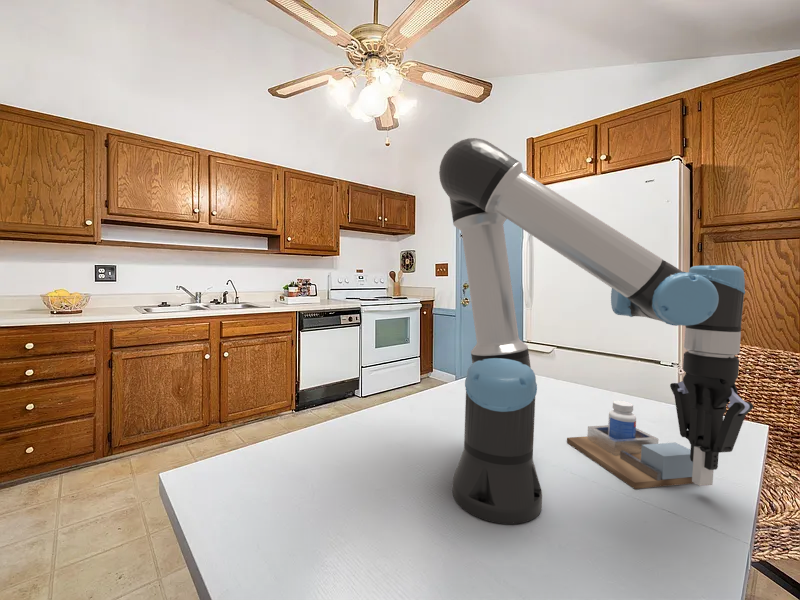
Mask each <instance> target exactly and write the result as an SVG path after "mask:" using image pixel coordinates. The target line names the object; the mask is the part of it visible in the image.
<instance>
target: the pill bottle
mask: <svg viewBox="0 0 800 600" xmlns="http://www.w3.org/2000/svg"><path fill="white" fill-rule="evenodd" d="M633 411H634V404H633V403H631V402H628V401H623V400H613V401H612V409H611V410H610V411H609V413H608V424H607V425H608V436H610V437H612V438H614V439H616V440H617V439H632V438H635V434H636V428H637V416H636V415H635V414H634V413H633Z"/></svg>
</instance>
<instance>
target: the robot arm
mask: <svg viewBox="0 0 800 600" xmlns="http://www.w3.org/2000/svg"><path fill="white" fill-rule="evenodd" d="M440 161H441V162H440V165H439V172H438V174H439V181H440V184H441V185H440V186H441V187H442V189H443V190H444V192H445V194H446V195H447V196H448V198H449V202H450V209H451V211H450V212H451V217H452V225H453V227H455V228H457V229H458V230H459V231H460V232H461V236H462V237H461V238H462V245H463V251H464V257H465V267H466V272H467V279H468V287H469V295H470V302H471V310H472V315H473V316H472V317H473V324H474V330H475V339H476V340H475V341H476V344H475V346H474V347H472V350H470V355H471V361H472V362H471V363H472V364H471V365H469V366H468V368H467V371H466V377H465V381H464V388H465V407H464V408H465V411H464V412H465V414H464V434H463V436H464V437H463V438H464V439H463V440H464V441H463V443H464V444H463V452H462V454H461V456H460V459H459V462H458V465H457V467H456V470H455V472H454V475H453V480H452V495H453V498H454V500H455V502H456V503H457V504H458V506H459V507H461V508H462V509H463V510H464V511H466V512H467V513H469V514H471V515H472V516H474V517H477V518H479V519H482V520H484V521H487V522H492V523H496V524H505V525H513V524H515V525H516V524H523V523H526V522H529V521H532V520H534V519H535V518H537V517H538V515H540V514H541V511H542V509H543V492H542V491H543V490H542V487H541V484H540V480H539V475H538V474H537V470H536V466H535V462H534V439H535V438H534V436H535V435H534V433H535V417H536V416H535V414H536V413H535V412H536V395H537V393H538V386H537V385H538V384H537V382H536V381H537V380H536V379H537V378H536V374H535V372H534V370H533V369H532V367H531V359H530V353H529V347H528V345H527V344H526V343H524V342H523V341H522V340H521V339H520V337H519V330H518V324H517V323H518V322H517V314H516V307H515V301H514V294H513V286H512V279H511V271H510V265H509V263H510V262H509V256H508V249H507V241H506V236H505V235H506V234H505V229H504V224H505V221H507V220H508V221H509V222H510V223H513V224H514V225H516V227H517V226H518V227H519V228H521V229H522V230H523V231H525V232H526V233H528V234H529V235H531V236H533V237H534V238H536V240H538V241H540V242H542V243H543V244H544V245H546V246H548V247H549V248H551V249H552V250H554V251H556V253H558V254H560V255H561V256H563V257H564V258H566V259H567V260H569V261H571V262H572V263H574V264H575V265H577V266H578V267H579V268H581V269H583V270H584V271H585V272H586V273H589V274H590V275H591V276H593V277H595V278H596V279H598V280H599V281H601V282H603V284H606V285H607V286H608V287H609V288H611V293H610V303H611V304H610V305H611V309H612V311H613V313H614V314H615V315H617V316H627V317H630V318H634V317H641V318H644V317H645V318H648V319H653V320H656V321H660V322H663V323H665V324H667V325H670V326H677V327H678V326H685V329H684V330H685V331H684V340H683V341H684V343H683V348H684V349H685V350H687V351H684V353H683V359H682V360H683V361H682V362H683V363H682V370H683V372H684V373H685V374H684V376H683V378H682V381H679V382H673V383H670V385H669V386H670V387H669V388H670V390H671V392H672V395H674V400H675V401H674V402H675V409H676V415H677V421H678V429H679V434H680V436H681V438H686V440H688V442H689V444H690V459H691V461H692V462H693V472H692V482H693V483H692V484H695V485H697V486H699V487H702V486H703V487H705V486H713V485H714V470H715V471H716V470H717V469H718V467H719V454H720V453H731V452H733V449H734V446H735V444H736V442H737V439H738V437H739V434H740V431H741V428H742V426H743V424H744V421H745V419H746V416H747V414H749V412H750V411H752V410H753V409H754V404H753V403H752V402H750V401H745V400H743V399H742V397H740V395H738V393H739V392H738V388H737V386H736V381H737V379H738V377H739V371H740V369H739V367H740V359H738V357H737V356H738V355H739V354H740V352H741V335H742V320H743V310H744V299H745V294H746V290H745V288H746V287H745V286H746V285H745V283H746V281H745V271H744V270H743V268H741V267H740V266H737V265H726V264H725V265H724V264H723V265H716V264H715V265H693V266H691V267H690V268H689V270H688V271H687V272H686V271H682V270H681V269H679V268H678V267H676V266H675V265H673V264H671V263H669V262H667V261H666V260H664V259H663V258H661V257H660V256H658V255H657V254H656V253H654V252H651V251H650V250H649V249H647V248H645V247H644V246H642V245H641V244H639V243H638V242H635V241H634V240H633V239H631V238H629V237H627V236H626V235H625V234H623V233H621V232H619V231H618V230H617V229H615V228H613V227H611V226H610V225H609V224H607V223H605V222H604V221H602V220H601V219H599V218H597V217H596V216H594V215H592V214H591V213H590V212H588V211H586V210H584V209H583V208H581V207H580V206H578V205H577V204H575V203H573V202H572V201H570V200H569V199H567V198H565V197H564V196H562V195H561V194H560V193H557V192H556V191H554V189H551V188H550V187H548V186H546V185H545V184H543V183H541V182H540V181H538V180H537V179H535V178H533V177H532V176H531V175H529V174H527V173H526V172H524V169H523V164H522V162H521V161H519V160H518V159H516V158H515V157H512V156H511V155H509V154H508V153H506V152H505V151H504V150H502V149H500V148H499V147H497V146H496V145H494V144H492V142H489V141H487V140H485V139H482V138H477V137H473V138H472V137H469V138H464V139H461V140H459V141H457V142H455V143H454V144H453V145H452V146H451V147H449V148H448V149H447V150H446V152H445V153H444V155H443V157H442V159H441V160H440ZM736 355H737V356H736ZM724 414H725V415H724Z"/></svg>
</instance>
